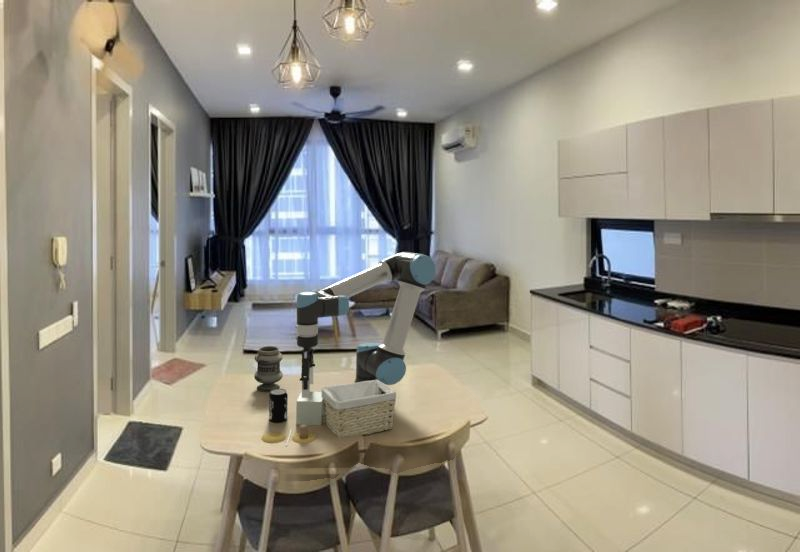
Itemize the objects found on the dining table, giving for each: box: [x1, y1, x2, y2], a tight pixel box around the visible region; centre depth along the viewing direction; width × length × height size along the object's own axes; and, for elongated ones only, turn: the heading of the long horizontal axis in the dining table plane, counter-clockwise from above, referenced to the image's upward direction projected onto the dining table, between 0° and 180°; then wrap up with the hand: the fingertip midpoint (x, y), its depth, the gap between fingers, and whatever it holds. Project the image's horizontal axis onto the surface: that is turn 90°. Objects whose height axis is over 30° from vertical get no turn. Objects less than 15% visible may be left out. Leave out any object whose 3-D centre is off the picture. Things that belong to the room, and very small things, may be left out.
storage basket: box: [321, 380, 397, 438], centre depth 179 cm, size 24×16×15 cm
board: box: [261, 425, 316, 447], centre depth 167 cm, size 18×13×5 cm
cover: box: [295, 390, 324, 426], centre depth 182 cm, size 10×10×9 cm
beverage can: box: [268, 388, 289, 424], centre depth 180 cm, size 7×7×12 cm
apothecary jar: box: [253, 345, 284, 393], centre depth 215 cm, size 12×12×18 cm
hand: (307, 390), depth 182 cm, fingers open, 13 cm apart
